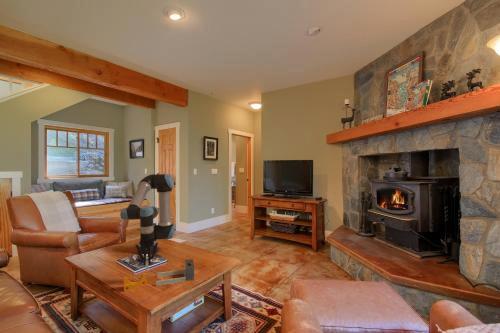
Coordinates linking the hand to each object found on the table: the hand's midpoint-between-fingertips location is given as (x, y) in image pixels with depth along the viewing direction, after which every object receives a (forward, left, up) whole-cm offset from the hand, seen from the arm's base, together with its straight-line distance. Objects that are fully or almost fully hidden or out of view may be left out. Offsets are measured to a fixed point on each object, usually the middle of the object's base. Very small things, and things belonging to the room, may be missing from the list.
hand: (147, 270), depth 146 cm
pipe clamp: (+4, -6, -8) cm, 11 cm away
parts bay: (+1, +14, -7) cm, 16 cm away
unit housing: (+1, +25, -7) cm, 26 cm away
